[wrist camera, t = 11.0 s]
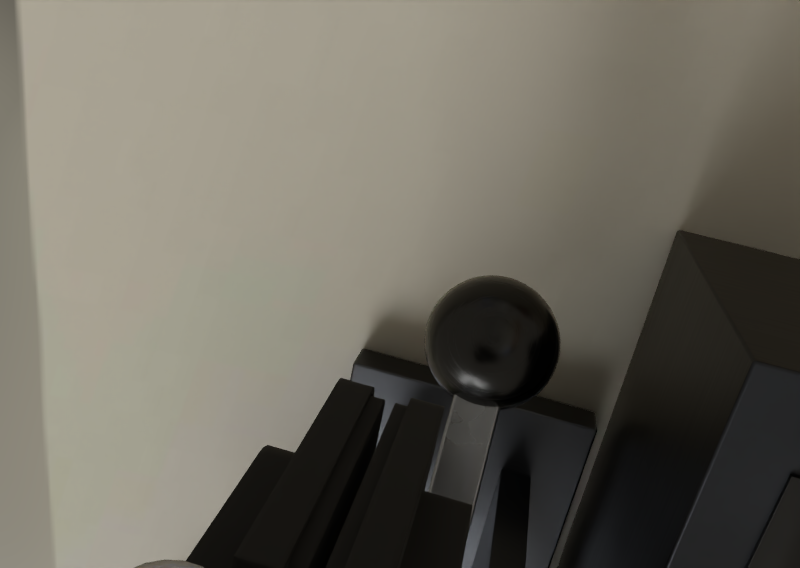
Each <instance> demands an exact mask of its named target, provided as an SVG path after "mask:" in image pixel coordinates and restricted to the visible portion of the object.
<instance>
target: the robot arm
mask: <svg viewBox="0 0 800 568" xmlns="http://www.w3.org/2000/svg"><path fill="white" fill-rule="evenodd" d="M374 392H375V388H374V387H372V386H368V385H365V384H361V383H357V382H354V381H350V380H347V379H343V378H340V379H339V381H338V382H337V384H336V385H335V387H334V389H333V390H332V392H331V394H330V395H329V397H328V399H327V400H326V402H325V404H324V405H323V407H322V409H321V410H320V412H319V414H318V415H317V417H316V419H315V420H314V422H313V424H312V426H311V427H310V429H309V431H308V432H307V434H306V436H305V437H304V439H303V441H302V442H301V444H300V446H299V447H298V449H297V451H296V452H295V453H293V452H290V451H287V450H283V449H280V448H276V447H273V446H269V445H267V446H265V447H264V448H263V449H262V450H261V451H260V452H259V454H258V455H257V457H256V458H255V460H254V461H253V463H252V464H251V466H250V467H249V469H248V470H247V472H246V473H245V474H244V476H243V477H242V479H241V480H240V482H239V483H238V485H237V486H236V488H235V489H234V491H233V492H232V494H231V495H230V497H229V498H228V500H227V501H226V503H225V504H224V505H223V507H222V508H221V510H220V511H219V513H218V514H217V516H216V517H215V519H214V520H213V522H212V523H211V525H210V526H209V528H208V529H207V531H206V532H205V534H204V535H203V536H202V538H201V539H200V541H199V542H198V544H197V545H196V547H195V548H194V550H193V551H192V553H191V554H190V556H189V557H188V559H187V560H186V561H180V560H160V561H154V562H149V563H144V564H142V565H139V566H137V567H135V568H462V563H463V557H464V552H465V546H466V541H467V535H468V530H469V524H470V519H471V513H472V505H471V504H468V503H464V502H461V501H457V500H454V499H451V498H447V497H444V496H440V495H437V494H434V493H430V492H427V491H425V486H426V482H427V478H428V474H429V470H430V466H431V462H432V458H433V454H434V450H435V446H436V442H437V438H438V434H439V430H440V426H441V422H442V418H443V414H444V410H445V407H444V406H440V405H437V404H433V403H430V402H426V401H422V400H419V399H415V398H411V399H410V401H409V404H408V406H405V405H402V404H398V403H395V404H394V407H393V409H392V411H391V414H390V416H389V418H388V421H387V423H386V426H385V428H384V430H383V433H382V435H381V437H380V440H379V442H378V444H377V440H378V435H379V431H380V426H381V421H382V416H383V411H384V406H385V400H384V399H380V398H377V397H374ZM376 445H377V447H376Z"/></svg>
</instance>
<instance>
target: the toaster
mask: <svg viewBox="0 0 800 568" xmlns="http://www.w3.org/2000/svg"><path fill="white" fill-rule="evenodd" d="M557 568H800V259H797V258H792V257H788V256H784V255H780V254H776V253H772V252H768V251H764V250H759V249H755V248H751V247H747V246H743V245H739V244H735V243H730V242H726V241H722V240H718V239H714V238H710V237H706V236H702V235H697V234H693V233H689V232H685V231H681V230H679V231H678V232H677V234H676V236H675V239H674V242H673V245H672V248H671V250H670V253H669V256H668V259H667V262H666V265H665V267H664V270H663V273H662V276H661V279H660V281H659V284H658V287H657V290H656V293H655V295H654V298H653V301H652V304H651V307H650V309H649V312H648V315H647V318H646V321H645V323H644V326H643V329H642V332H641V335H640V337H639V340H638V343H637V346H636V349H635V351H634V354H633V357H632V360H631V363H630V365H629V368H628V371H627V374H626V377H625V379H624V382H623V385H622V388H621V391H620V393H619V396H618V399H617V402H616V405H615V407H614V410H613V413H612V416H611V419H610V421H609V424H608V427H607V430H606V433H605V435H604V438H603V441H602V444H601V447H600V449H599V452H598V455H597V458H596V461H595V463H594V466H593V469H592V472H591V475H590V477H589V480H588V483H587V486H586V489H585V491H584V494H583V497H582V500H581V503H580V505H579V508H578V511H577V514H576V517H575V519H574V522H573V525H572V528H571V531H570V533H569V536H568V539H567V542H566V545H565V547H564V550H563V553H562V556H561V559H560V561H559V564H558V567H557Z"/></svg>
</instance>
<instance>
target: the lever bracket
mask: <svg viewBox="0 0 800 568" xmlns="http://www.w3.org/2000/svg"><path fill="white" fill-rule="evenodd" d="M350 381H354V382H357V383H361V384H365V385H368V386H372V387H374V388H375V392H374V397H377V398H380V399H384V400H385V406H384V411H383V416H382V421H381V426H380V431H379V435H378V440H377V444H378V442H379V440H380V437H381V435H382V433H383V430H384V428H385V426H386V423H387V421H388V418H389V416H390V414H391V411H392V409H393V407H394V404H395V403H398V404H402V405H405V406H408V404H409V401H410V399H411V398H415V399H419V400H422V401H426V402H430V403H433V404H437V405H440V406H444V407H445V410H444V414H443V418H442V422H441V426H440V430H439V434H438V438H437V442H436V446H435V450H434V454H433V458H432V462H431V466H430V470H429V474H428V478H427V482H426V486H425V491H427V492H428V490H429V487H430V483H431V479H432V475H433V472H434V468H435V464H436V460H437V456H438V453H439V449H440V445H441V441H442V437H443V434H444V430H445V426H446V422H447V418H448V415H449V411H450V407H451V403H452V399H453V397H451V396H450V395H449V394H448V393H447V392H446V391H444V390H443V388H442V387H441V386H440V385H439V384H438V382H437V381H436V379H435V378H434V376H433V374H432V372H431V370H430V368H429V366H425V365H421V364H418V363H414V362H410V361H407V360H403V359H400V358H396V357H392V356H389V355H385V354H381V353H378V352H374V351H370V350H367V349H362V350H361V352H360V354H359V355H358V357H357V359H356V360H355V362H354V364H353V369H352V374H351V380H350ZM596 432H597V427H596V417H595V412H592V411H589V410H585V409H582V408H578V407H574V406H571V405H567V404H563V403H560V402H556V401H552V400H549V399H545V398H542V397H538V396H535V397H533V398H532V399H530V400H529V401H527V402H525V403H523V404H521V405H519V406H517V407H514V408H511V409H506V410H500V411H499V415H498V419H497V423H496V427H495V431H494V435H493V439H492V443H491V447H490V451H489V455H488V459H487V463H486V467H485V471H484V475H483V479H482V482H481V486H480V490H479V494H478V498H477V502H476V506H475V510H474V514H473V518H472V522H471V526H470V530H469V534H468V538H467V542H466V546H465V552H464V557H463V563H462V568H549V566H550V563H551V560H552V558H553V555H554V552H555V549H556V546H557V543H558V540H559V538H560V535H561V532H562V529H563V526H564V523H565V521H566V518H567V515H568V512H569V509H570V506H571V503H572V501H573V498H574V495H575V492H576V489H577V486H578V484H579V481H580V478H581V475H582V472H583V469H584V466H585V464H586V461H587V458H588V455H589V452H590V449H591V447H592V444H593V441H594V438H595V435H596ZM376 447H377V445H376Z"/></svg>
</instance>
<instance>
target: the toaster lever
mask: <svg viewBox="0 0 800 568" xmlns="http://www.w3.org/2000/svg"><path fill="white" fill-rule="evenodd" d="M424 343H425V354H426V359H427V362H428V365H429V368H430V370H431V372H432V374H433V376H434V378H435V379H436V381H437V382H438V384H439V385H440V386H441V387H442V388H443V390H444V391H446V392H447V393H448V394H449V395H450V396H451V397H453V399H452V403H451V407H450V411H449V415H448V418H447V422H446V426H445V430H444V434H443V437H442V441H441V445H440V449H439V453H438V456H437V460H436V464H435V468H434V472H433V475H432V479H431V483H430V487H429V490H428V492H430V493H434V494H437V495H440V496H444V497H447V498H451V499H454V500H457V501H461V502H464V503H468V504H471V505H472V513H471V519H470V524H469V530H470V526H471V522H472V518H473V514H474V510H475V506H476V502H477V498H478V494H479V490H480V486H481V482H482V479H483V475H484V471H485V467H486V463H487V459H488V455H489V451H490V447H491V443H492V439H493V435H494V431H495V427H496V423H497V419H498V415H499V411H500V410H506V409H511V408H514V407H517V406H519V405H521V404H523V403H525V402H527V401H529V400H530V399H532V398H533V397H535V396H536V395H537V394H538V393H539V392H540V391H541V390H542V389H543V388H544V387H545V386H546V384H547V383H548V382H549V380H550V379H551V377H552V375H553V373H554V371H555V369H556V366H557V363H558V360H559V355H560V332H559V328H558V324H557V321H556V319H555V316H554V314H553V312H552V310H551V308H550V307H549V306H548V304H547V303H546V301H545V300H544V299H543V298H542V297H541V296H540V295H539V294H538V293H537V292H536V291H535V290H533V289H532V288H530V287H529V286H527V285H526V284H524V283H522V282H520V281H518V280H515V279H512V278H508V277H503V276H493V275H490V276H480V277H475V278H472V279H469V280H466V281H464V282H462V283H460V284H458V285H456V286H455V287H453V288H452V289H450V290H449V291H448V292H447V293H446V294H444V296H443V297H442V298H441V299H440V300H439V301H438V303H437V304H436V306H435V307H434V309H433V311H432V313H431V315H430V317H429V320H428V323H427V327H426V331H425V342H424ZM469 530H468V534H469ZM467 538H468V535H467ZM466 542H467V541H466Z"/></svg>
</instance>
